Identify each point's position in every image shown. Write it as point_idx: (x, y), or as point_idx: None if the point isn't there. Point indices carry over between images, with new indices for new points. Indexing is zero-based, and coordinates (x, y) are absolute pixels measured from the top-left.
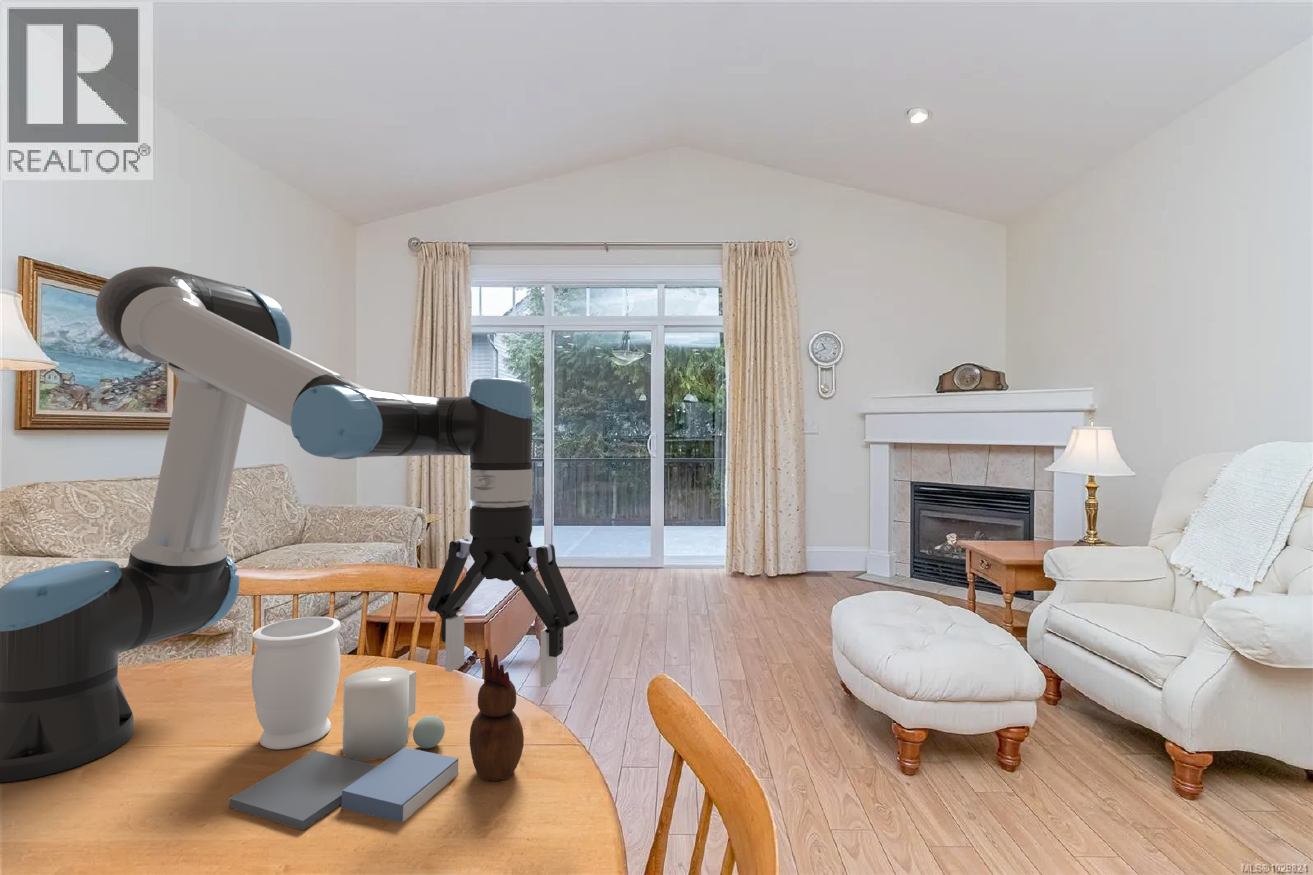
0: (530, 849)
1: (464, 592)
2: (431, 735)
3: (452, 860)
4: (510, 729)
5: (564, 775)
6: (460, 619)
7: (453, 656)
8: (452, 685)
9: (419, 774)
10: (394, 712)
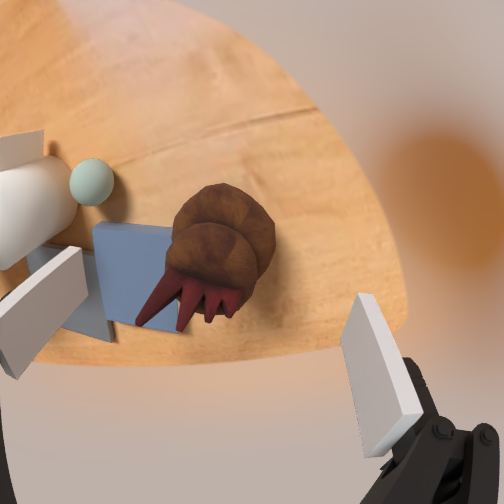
0: (333, 332)
1: (7, 468)
2: (103, 199)
3: (265, 354)
4: (262, 273)
5: (337, 201)
6: (6, 337)
7: (69, 304)
8: (47, 16)
9: (153, 282)
10: (44, 224)
